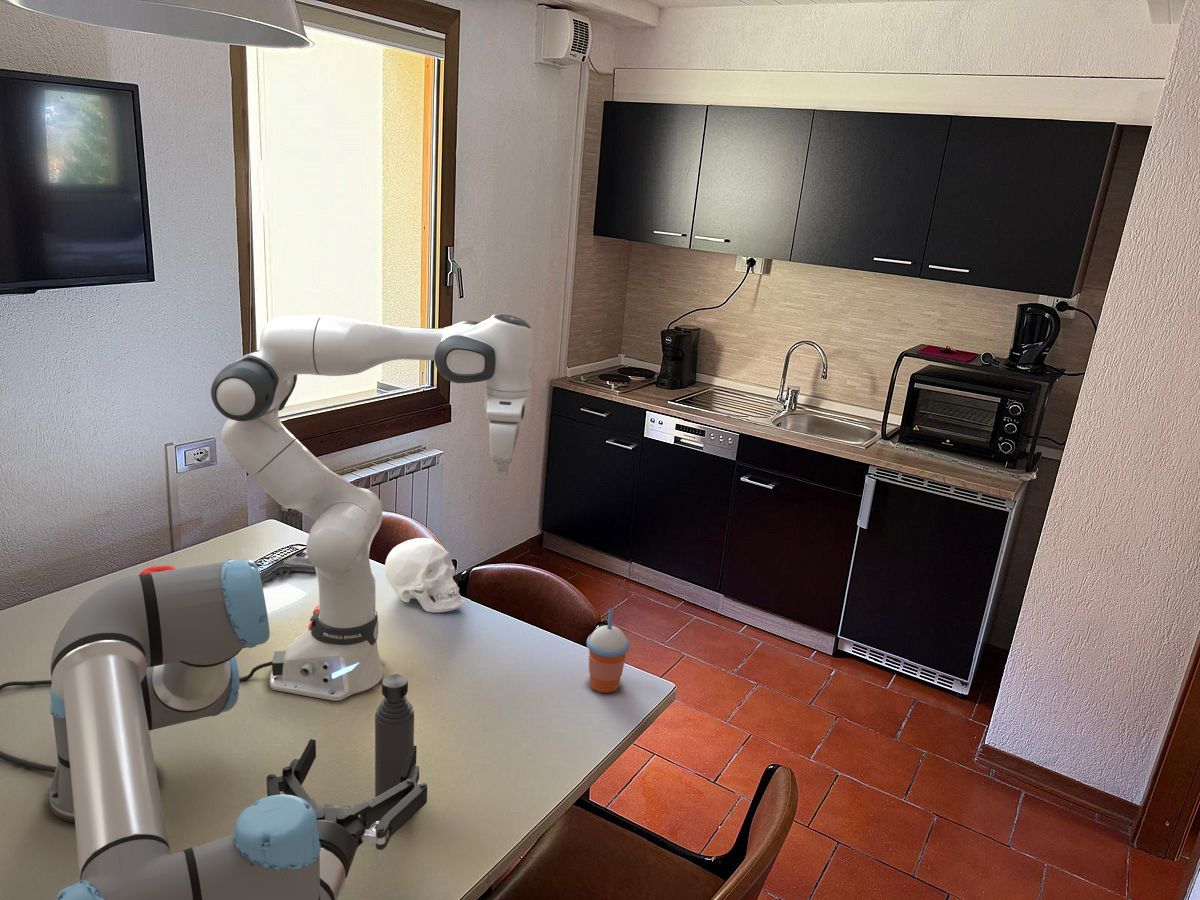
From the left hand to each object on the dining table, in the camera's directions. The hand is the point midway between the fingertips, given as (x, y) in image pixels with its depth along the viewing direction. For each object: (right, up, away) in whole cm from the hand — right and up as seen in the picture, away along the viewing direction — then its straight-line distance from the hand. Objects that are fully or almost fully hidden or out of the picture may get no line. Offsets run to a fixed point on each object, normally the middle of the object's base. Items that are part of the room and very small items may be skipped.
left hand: (363, 750), depth 116 cm
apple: (-71, +4, +85) cm, 110 cm away
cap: (0, +4, +20) cm, 20 cm away
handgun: (-49, +8, +104) cm, 115 cm away
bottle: (-2, -19, +27) cm, 33 cm away
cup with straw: (+33, -10, +67) cm, 76 cm away
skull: (-11, +3, +97) cm, 98 cm away
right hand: (+14, +37, +50) cm, 64 cm away
